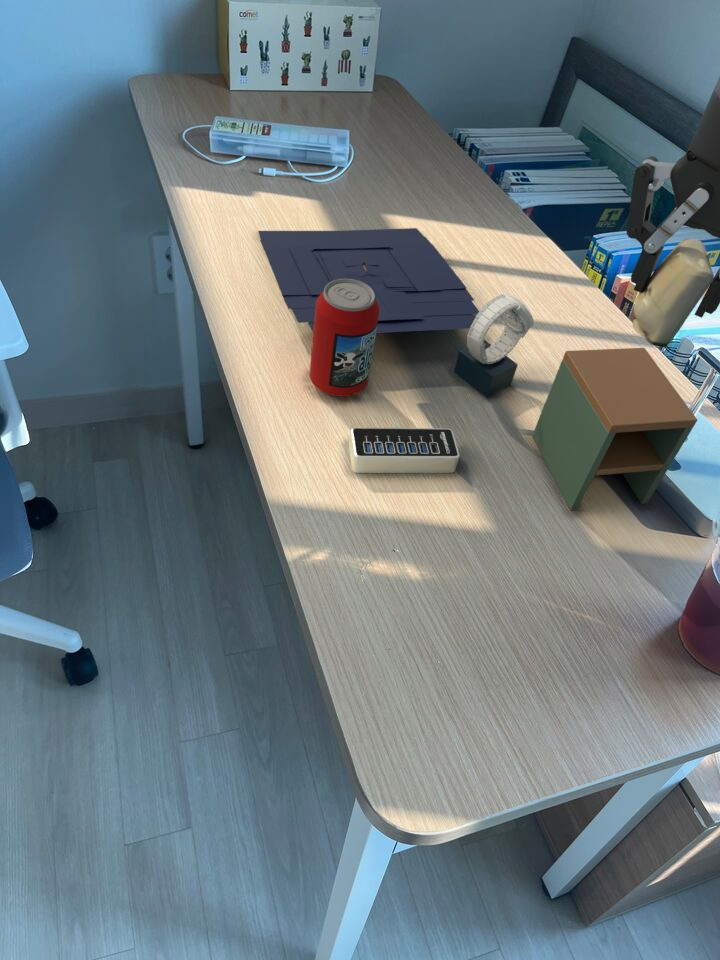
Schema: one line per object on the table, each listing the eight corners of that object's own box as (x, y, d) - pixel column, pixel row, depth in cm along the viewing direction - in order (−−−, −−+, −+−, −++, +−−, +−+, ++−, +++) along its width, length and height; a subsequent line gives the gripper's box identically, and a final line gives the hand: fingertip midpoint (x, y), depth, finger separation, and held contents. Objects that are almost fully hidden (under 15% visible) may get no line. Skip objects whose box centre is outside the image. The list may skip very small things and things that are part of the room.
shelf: (647, 503, 80) (698, 419, 71) (570, 510, 78) (612, 425, 69) (603, 431, 87) (644, 347, 78) (531, 436, 85) (565, 350, 76)
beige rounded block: (698, 344, 68) (741, 266, 62) (655, 356, 66) (696, 275, 60) (655, 309, 71) (692, 231, 65) (613, 318, 69) (648, 239, 63)
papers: (297, 358, 87) (298, 330, 84) (255, 249, 108) (256, 224, 106) (491, 347, 93) (498, 320, 90) (416, 245, 114) (419, 222, 112)
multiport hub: (348, 442, 80) (350, 426, 79) (447, 443, 82) (452, 427, 81) (352, 473, 77) (355, 457, 76) (455, 473, 79) (460, 457, 78)
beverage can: (346, 410, 84) (359, 320, 75) (297, 384, 86) (304, 294, 77) (378, 380, 88) (393, 291, 79) (329, 356, 90) (340, 267, 81)
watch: (521, 379, 92) (549, 302, 84) (476, 402, 87) (500, 324, 79) (488, 354, 94) (512, 277, 86) (442, 376, 90) (463, 297, 82)
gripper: (658, 79, 53) (579, 287, 66) (868, 145, 49) (741, 354, 62) (685, 55, 58) (606, 253, 70) (879, 114, 54) (759, 313, 66)
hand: (670, 299), depth 66 cm, fingers closed on beige rounded block, 5 cm apart
